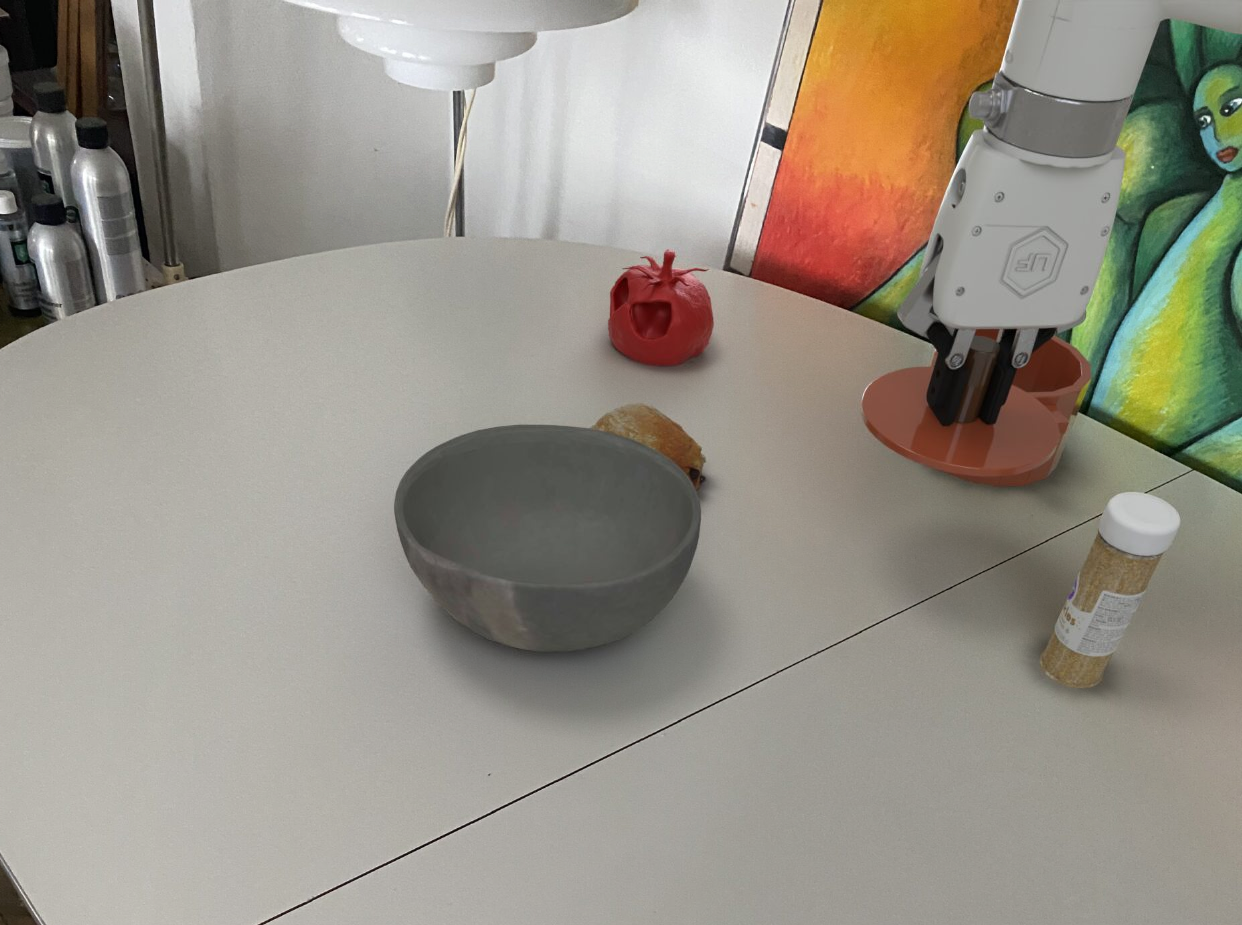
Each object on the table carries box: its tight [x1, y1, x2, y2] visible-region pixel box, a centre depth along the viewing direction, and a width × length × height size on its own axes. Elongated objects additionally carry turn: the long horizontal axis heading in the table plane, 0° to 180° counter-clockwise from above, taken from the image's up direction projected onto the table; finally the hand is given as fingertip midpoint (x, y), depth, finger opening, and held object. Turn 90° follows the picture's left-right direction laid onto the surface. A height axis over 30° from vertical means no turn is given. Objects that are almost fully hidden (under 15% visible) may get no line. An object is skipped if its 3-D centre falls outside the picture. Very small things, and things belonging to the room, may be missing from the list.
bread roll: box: [589, 402, 707, 492], centre depth 96 cm, size 10×10×8 cm
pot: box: [927, 329, 1093, 488], centre depth 102 cm, size 13×18×8 cm
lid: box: [859, 336, 1060, 476], centre depth 82 cm, size 14×14×6 cm
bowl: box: [393, 424, 702, 653], centre depth 82 cm, size 20×20×10 cm
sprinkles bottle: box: [1038, 491, 1182, 689], centre depth 80 cm, size 5×5×13 cm
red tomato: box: [607, 248, 715, 367], centre depth 109 cm, size 10×10×9 cm
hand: (961, 412), depth 83 cm, fingers closed on lid, 2 cm apart
